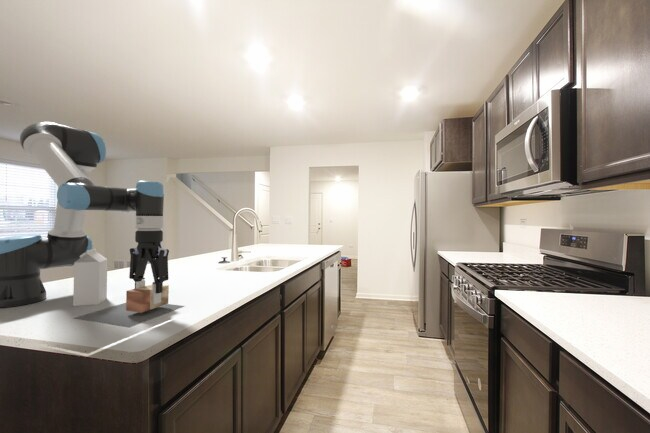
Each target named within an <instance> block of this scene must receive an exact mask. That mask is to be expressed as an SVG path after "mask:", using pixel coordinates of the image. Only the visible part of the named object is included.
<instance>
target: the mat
mask: <svg viewBox="0 0 650 433" xmlns="http://www.w3.org/2000/svg"><path fill="white" fill-rule="evenodd" d="M184 307H185V305H179V304H171V303H168V304H165V305H162V306H159V307H156V308H153V309H150V310H148V311H145V312H142V313H140V312H133V311H126V302H123V303H119V304H116V305H113V306H110V307H106V308H103V309H100V310H95V311H92V312H89V313H85V314H82V315H78V316H76V317H73V319H76V320H80V321H88V322H93V323H99V324H100V323H101V324H106V325H111V326H118V327H124V328H132V327H135V326H137V325H139V324H142V323H144V322H145V323H146V322H147V321H150V320H153V319H156V318H158V317H161V316H163V315H166V314H169V313H172V312H173V311H176V310H179V309H181V308H184Z"/></svg>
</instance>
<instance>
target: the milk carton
mask: <svg viewBox="0 0 650 433" xmlns="http://www.w3.org/2000/svg"><path fill="white" fill-rule="evenodd" d="M107 292H108V258H107V257H105V256H104V255H102V254H101V253H100V252H98V251H97V248H92V249H91V250H87V253H83V254H82V255H80V259H79V260H77V261H76V262H75V263H74V265H73V294H72V295H73V298H72V299H73V301H72V302H73V305H72V306H73V307H75V306H76V307H77V306H91V305H100V304H101V303H102V302H104V301H105V300H107V298H108V295H107V294H108V293H107Z"/></svg>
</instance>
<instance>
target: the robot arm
mask: <svg viewBox="0 0 650 433" xmlns="http://www.w3.org/2000/svg"><path fill="white" fill-rule="evenodd" d="M19 144H20V145H21V147H22V149H23V150H24V152H25V153H26V154H27V155H28V156H30V157H32V158H33V159H35V160H37V162H38V164H39V165H40V166H41V167H42V168H43V169H44V171H45V172H46V173H47V174H48V176H49V177H50V178H51V179H52V180H53V181H54V183H55V185H57V186H58V188H57V191H56V199H57V203H56V210H55V217H54V226H53V228H51V229H50V230H48V232H47V237H42V236H41V234H36V233H35V234H34V233H33V234H21V235H13V236H6V237H1V238H0V309H1V308H11V307H19V306H25V305H30V304H34V303H38V302H41V301H43V300H45V299H47V290H46V288H45V285H44V284H43V281H42V280H41V270H43V269H44V270H46V269H51V268H52V269H53V268H61V267H62V268H63V267H74V263H75V262H76V261H77V260H79V259H80V255H82V254H83V253H87V250H91V249H93V244H92V243H93V241H92V239H91V237H89V236H88V233H87V231H85V230H84V224H85V216H86V211H105V212H106V211H108V212H109V211H112V212H127V213H129V212H135V229H136V231H135V236H134V239H135V242H136V243H137V246H136V247H132V248H130V249H129V254H130V263H129V273H128V274H129V276H128V278H129V279H130V280H133V281H134V289H136V288H140V287H144V286H146V278H145V277H144V276H145V273H146V269H147V266H148V263H149V264H150V269H151V273H152V277H153V282H152V283H151V285H152V304H153V305H154V304H157V303H160V302H161V293H162V289H163V285H164V282H166V281H168V280H169V253H170V250H169V249H168V248H167V249H164V248H162V246H161V245H162V244H161V243H162V242H163V241H164V237H163V236H164V233H163V230H162V229H163V228H164V198H165V194H164V185H163V183H162V182H161V181H159V182H158V181H155V180H154V181H152V180H151V181H150V180H139V181H137V182H136V185H135V188H126V187H125V188H124V187H114V186H104V185H95V183H93V182H92V181H91V174H92V171H94V170H95V169H96V168H97V166H98V164H101V163H103V162H104V160H105V159H106V154H107V149H106V148H107V147H106V144H105V141H104V139H103V137H101V136H100V135H99V134H98V133H95V132H92V131H89V130H86V129H80V128H76V127H71V126H68V125H64V124H60V123H59V124H58V123H56V122H51V121H40V122H35V123H32V124H29V125H27V126H26V127H25V128H23V130H22V131H21V133H20V135H19Z"/></svg>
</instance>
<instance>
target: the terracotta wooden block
mask: <svg viewBox="0 0 650 433" xmlns="http://www.w3.org/2000/svg"><path fill="white" fill-rule="evenodd" d="M169 289H170V288H169V284H163V289H162V293H161V302H160V303H157V304H154V305H153V304H152V284H149V285H145V286H144V287H140V288H136V289H135V288H132V289H129V290H126V292H125V293H126V298H125V299H126V301H125V303H126V311H133V312H140V313H142V312H145V311H148V310H150V309H153V308H156V307H159V306H162V305H165V304H169V293H170V291H169Z"/></svg>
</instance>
